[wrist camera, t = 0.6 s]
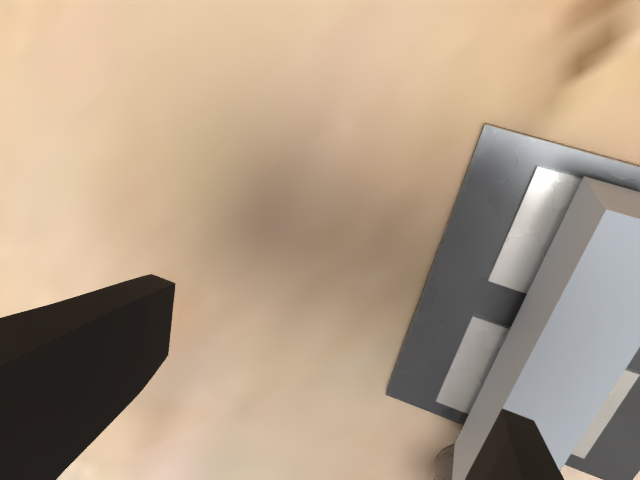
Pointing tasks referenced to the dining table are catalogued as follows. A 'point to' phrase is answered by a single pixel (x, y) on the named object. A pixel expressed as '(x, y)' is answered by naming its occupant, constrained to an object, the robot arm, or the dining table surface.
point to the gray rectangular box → (568, 328)
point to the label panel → (509, 288)
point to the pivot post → (444, 464)
